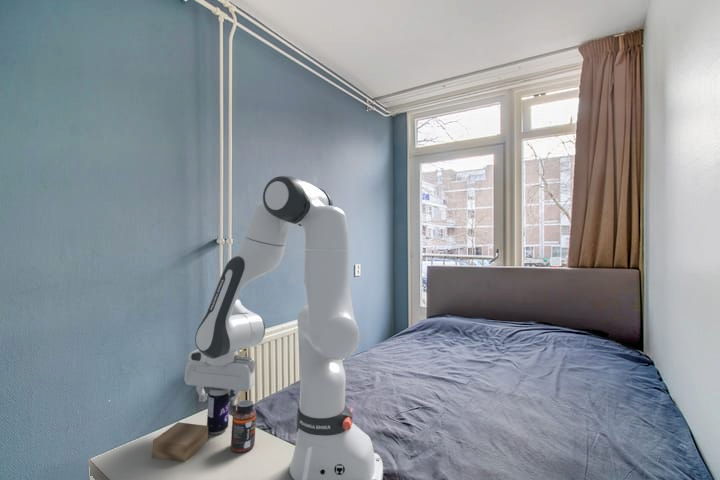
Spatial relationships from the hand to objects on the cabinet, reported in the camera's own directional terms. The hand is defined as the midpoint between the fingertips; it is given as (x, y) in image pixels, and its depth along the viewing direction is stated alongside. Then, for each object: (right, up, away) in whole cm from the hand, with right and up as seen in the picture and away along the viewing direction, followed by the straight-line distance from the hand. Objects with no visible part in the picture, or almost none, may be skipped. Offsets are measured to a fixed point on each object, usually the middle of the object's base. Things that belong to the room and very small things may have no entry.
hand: (218, 402), depth 93 cm
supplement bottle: (+10, -8, -8) cm, 15 cm away
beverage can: (0, -8, 0) cm, 8 cm away
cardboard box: (-5, -7, -10) cm, 13 cm away
